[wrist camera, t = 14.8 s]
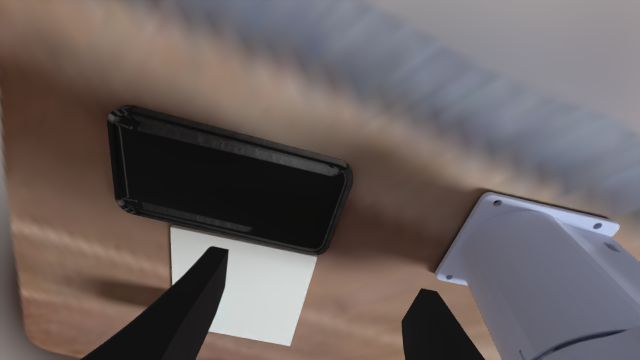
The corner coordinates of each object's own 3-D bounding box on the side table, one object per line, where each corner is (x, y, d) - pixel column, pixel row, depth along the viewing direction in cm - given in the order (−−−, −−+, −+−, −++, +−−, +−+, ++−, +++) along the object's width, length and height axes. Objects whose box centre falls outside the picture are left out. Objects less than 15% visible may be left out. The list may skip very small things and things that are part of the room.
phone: (104, 104, 17) (357, 169, 19) (117, 98, 18) (357, 161, 19) (116, 211, 21) (324, 259, 22) (126, 202, 22) (324, 249, 23)
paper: (317, 254, 23) (317, 257, 23) (290, 343, 29) (289, 346, 29) (172, 224, 22) (170, 227, 22) (175, 321, 29) (173, 324, 28)
